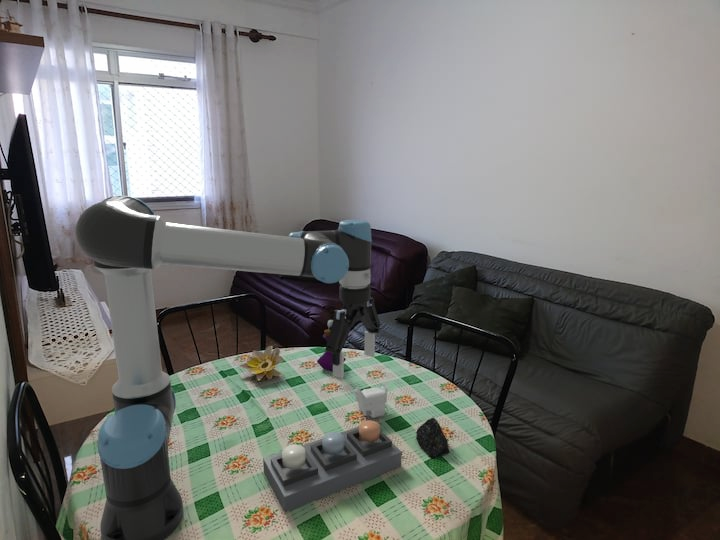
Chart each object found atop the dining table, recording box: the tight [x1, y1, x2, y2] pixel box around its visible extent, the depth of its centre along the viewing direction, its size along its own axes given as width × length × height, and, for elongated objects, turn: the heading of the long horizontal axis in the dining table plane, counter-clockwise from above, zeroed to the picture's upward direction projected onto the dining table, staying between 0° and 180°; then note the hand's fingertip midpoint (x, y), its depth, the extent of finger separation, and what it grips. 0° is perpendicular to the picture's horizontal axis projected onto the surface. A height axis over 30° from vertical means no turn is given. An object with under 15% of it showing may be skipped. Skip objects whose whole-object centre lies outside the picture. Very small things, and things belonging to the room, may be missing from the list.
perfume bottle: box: [316, 319, 347, 373], centre depth 155 cm, size 8×8×18 cm
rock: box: [415, 417, 451, 459], centre depth 116 cm, size 7×10×6 cm
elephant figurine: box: [353, 381, 390, 419], centre depth 129 cm, size 10×12×9 cm
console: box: [262, 426, 403, 514], centre depth 106 cm, size 30×14×6 cm, turn 120°
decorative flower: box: [238, 345, 285, 381], centre depth 152 cm, size 15×11×10 cm
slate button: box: [321, 431, 344, 455], centre depth 105 cm, size 5×5×2 cm
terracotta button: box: [358, 420, 381, 442], centre depth 110 cm, size 5×5×2 cm
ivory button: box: [281, 444, 306, 469], centre depth 100 cm, size 5×5×2 cm
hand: (354, 365), depth 112 cm, fingers open, 13 cm apart
